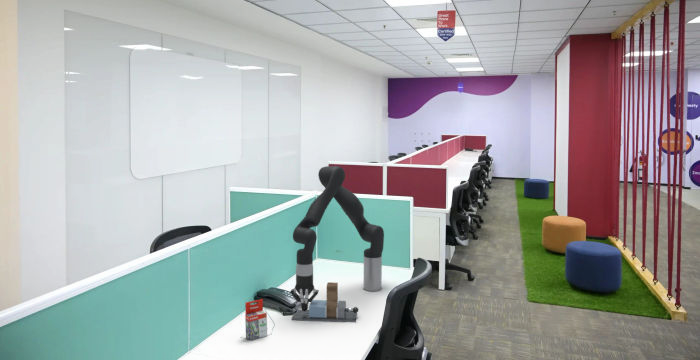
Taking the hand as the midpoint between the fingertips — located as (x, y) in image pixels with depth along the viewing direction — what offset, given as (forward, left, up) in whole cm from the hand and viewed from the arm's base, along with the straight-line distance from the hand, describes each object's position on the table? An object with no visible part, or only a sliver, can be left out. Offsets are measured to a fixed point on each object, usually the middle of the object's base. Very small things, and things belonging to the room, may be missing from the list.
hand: (304, 310), depth 222 cm
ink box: (+22, -16, -3) cm, 27 cm away
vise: (0, +9, -2) cm, 9 cm away
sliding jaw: (0, +6, -1) cm, 7 cm away
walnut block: (0, +12, -1) cm, 12 cm away
